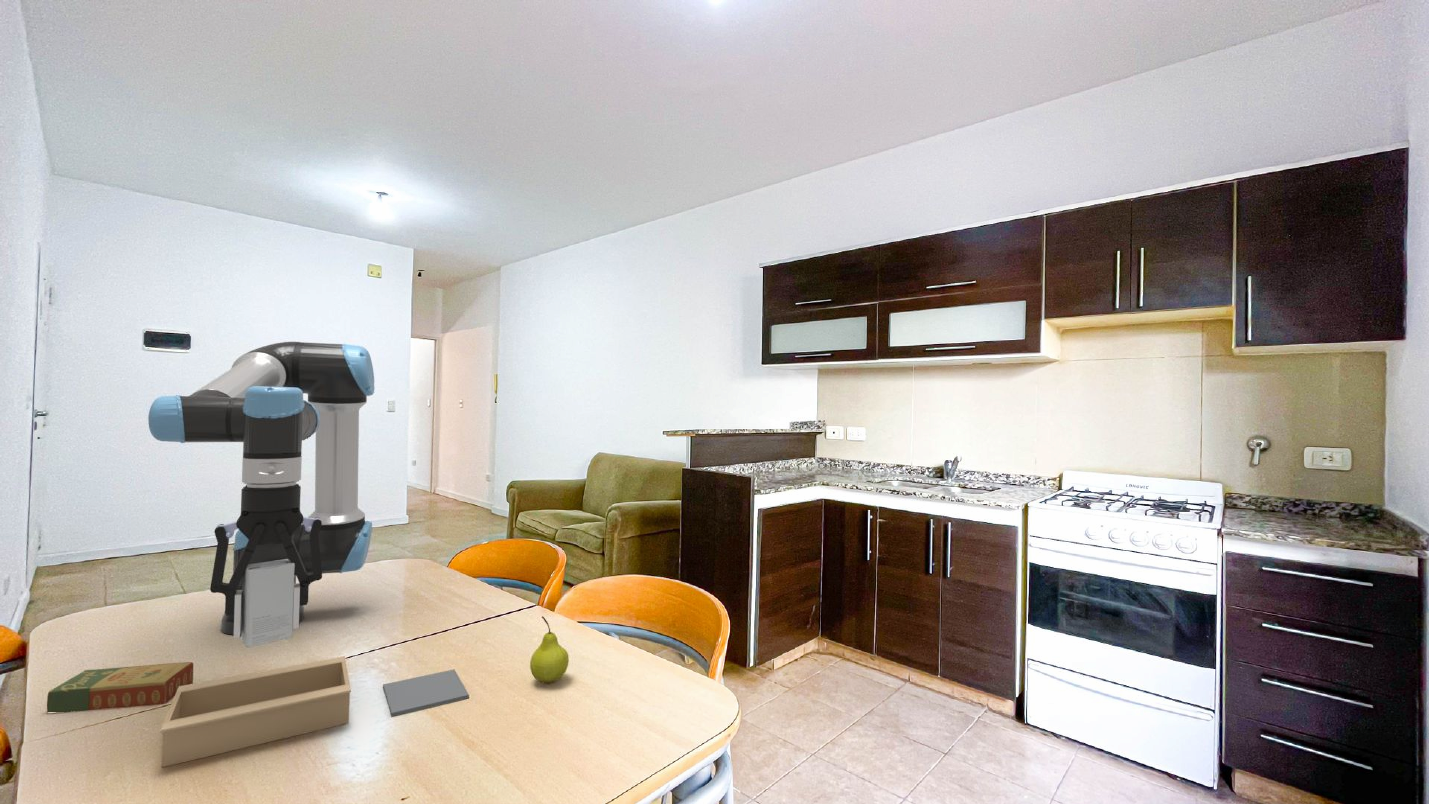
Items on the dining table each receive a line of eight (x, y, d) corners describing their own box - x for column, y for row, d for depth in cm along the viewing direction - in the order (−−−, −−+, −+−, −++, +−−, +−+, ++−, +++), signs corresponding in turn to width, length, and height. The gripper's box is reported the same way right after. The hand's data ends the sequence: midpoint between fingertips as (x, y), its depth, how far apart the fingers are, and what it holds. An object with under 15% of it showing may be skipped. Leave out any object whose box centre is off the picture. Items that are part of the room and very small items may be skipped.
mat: (383, 687, 108) (383, 684, 108) (454, 672, 115) (454, 669, 115) (391, 716, 98) (391, 713, 98) (468, 698, 105) (469, 694, 105)
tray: (177, 724, 94) (178, 686, 94) (343, 690, 107) (344, 656, 107) (158, 774, 82) (160, 730, 82) (349, 728, 94) (350, 690, 94)
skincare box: (285, 631, 98) (288, 557, 98) (293, 638, 95) (297, 562, 95) (238, 641, 94) (241, 563, 94) (245, 649, 91) (249, 569, 91)
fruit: (575, 677, 114) (576, 613, 114) (554, 692, 108) (556, 625, 108) (544, 671, 116) (546, 608, 117) (522, 686, 110) (524, 620, 110)
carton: (164, 706, 100) (165, 680, 100) (44, 717, 96) (45, 690, 96) (193, 683, 108) (194, 660, 108) (84, 692, 104) (84, 667, 104)
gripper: (185, 491, 86) (180, 652, 86) (346, 483, 97) (341, 626, 97) (193, 484, 92) (188, 634, 92) (343, 478, 103) (339, 612, 103)
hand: (267, 630), depth 94 cm, fingers closed on skincare box, 7 cm apart
